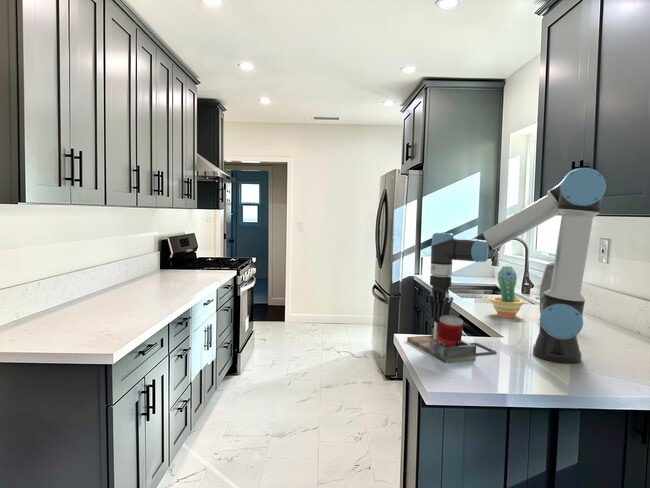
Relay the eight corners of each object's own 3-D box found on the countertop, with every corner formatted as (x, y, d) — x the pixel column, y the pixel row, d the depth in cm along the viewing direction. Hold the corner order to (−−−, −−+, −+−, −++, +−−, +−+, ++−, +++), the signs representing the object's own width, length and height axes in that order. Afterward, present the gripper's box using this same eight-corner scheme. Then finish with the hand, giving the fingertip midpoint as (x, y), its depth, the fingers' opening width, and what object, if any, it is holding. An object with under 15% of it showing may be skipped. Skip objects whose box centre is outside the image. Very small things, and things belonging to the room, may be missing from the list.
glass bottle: (560, 324, 201) (564, 264, 199) (536, 320, 207) (540, 262, 206) (564, 320, 209) (567, 263, 207) (541, 317, 215) (544, 261, 213)
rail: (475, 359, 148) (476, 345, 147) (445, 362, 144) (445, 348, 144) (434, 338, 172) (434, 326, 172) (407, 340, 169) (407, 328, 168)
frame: (497, 353, 155) (497, 351, 155) (472, 355, 152) (473, 354, 152) (476, 343, 167) (476, 342, 167) (453, 345, 164) (453, 344, 163)
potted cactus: (484, 314, 218) (486, 265, 216) (499, 310, 228) (501, 263, 226) (513, 320, 206) (516, 268, 205) (528, 316, 216) (531, 266, 215)
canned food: (460, 355, 148) (463, 325, 146) (436, 351, 150) (439, 322, 148) (459, 345, 156) (463, 316, 153) (436, 341, 158) (439, 313, 155)
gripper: (422, 273, 162) (419, 334, 164) (442, 278, 150) (439, 345, 151) (439, 272, 164) (436, 333, 166) (460, 277, 152) (457, 343, 154)
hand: (437, 339), depth 159 cm, fingers closed
